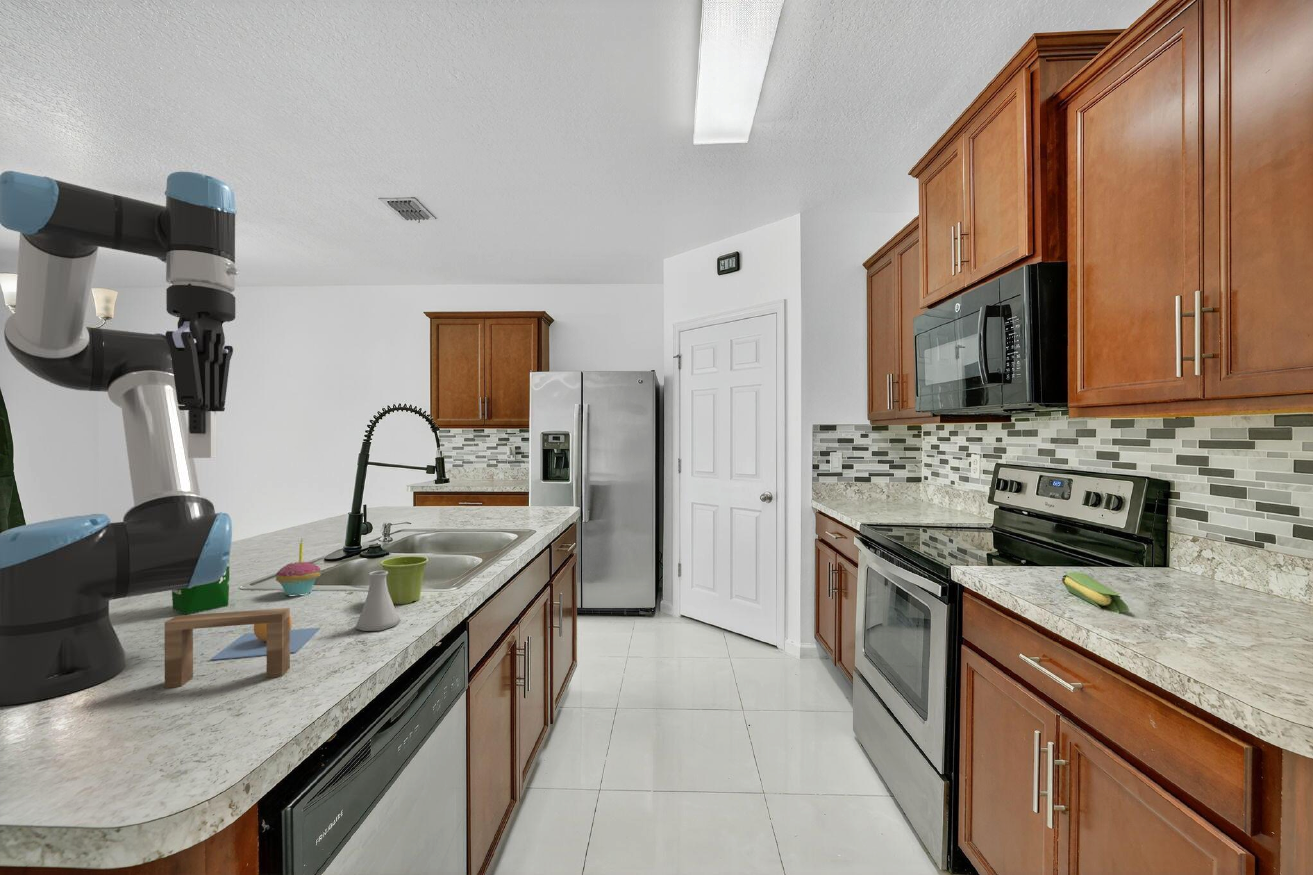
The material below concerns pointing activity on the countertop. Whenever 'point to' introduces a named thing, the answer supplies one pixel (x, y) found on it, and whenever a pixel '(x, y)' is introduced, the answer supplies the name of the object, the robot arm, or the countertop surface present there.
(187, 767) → the countertop surface
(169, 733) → the countertop surface
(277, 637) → the bridge
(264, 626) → the ball
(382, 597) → the flask
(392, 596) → the plant pot
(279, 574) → the cupcake
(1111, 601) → the edible corn
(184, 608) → the milk carton
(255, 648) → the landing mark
